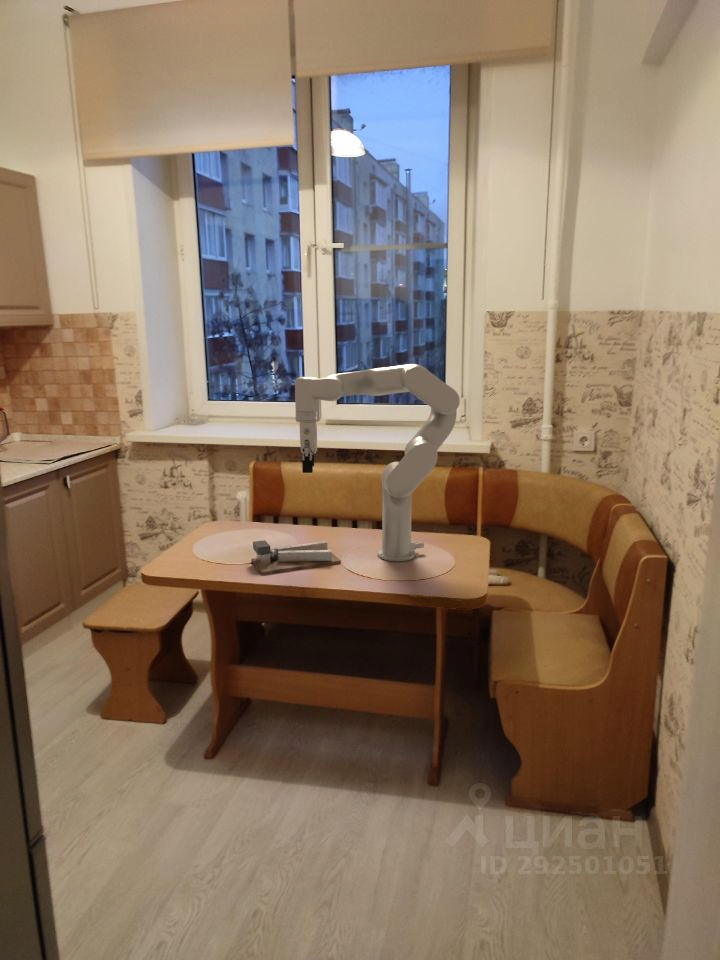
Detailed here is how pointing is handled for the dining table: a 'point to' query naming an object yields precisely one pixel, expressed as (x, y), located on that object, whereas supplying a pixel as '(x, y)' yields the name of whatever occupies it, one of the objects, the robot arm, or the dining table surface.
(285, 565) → the cutting board
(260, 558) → the tongs frame
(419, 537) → the dining table surface
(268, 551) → the lock slider
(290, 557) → the grey rectangular bar
